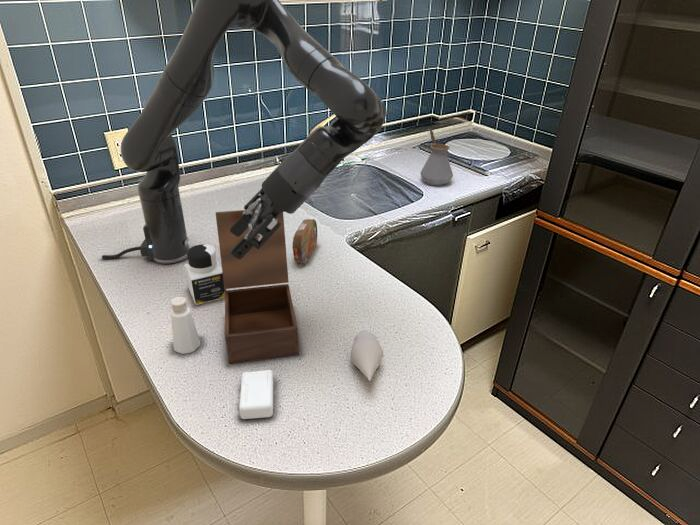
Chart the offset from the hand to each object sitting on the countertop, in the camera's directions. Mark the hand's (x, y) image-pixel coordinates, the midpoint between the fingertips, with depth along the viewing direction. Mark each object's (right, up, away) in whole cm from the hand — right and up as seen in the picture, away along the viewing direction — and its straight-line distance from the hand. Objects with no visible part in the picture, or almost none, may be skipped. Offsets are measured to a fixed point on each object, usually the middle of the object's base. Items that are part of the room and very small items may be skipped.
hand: (234, 244), depth 89 cm
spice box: (+3, -18, +12) cm, 22 cm away
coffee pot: (+51, +28, +92) cm, 109 cm away
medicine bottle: (-12, -11, +25) cm, 29 cm away
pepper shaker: (-12, -20, +9) cm, 25 cm away
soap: (+5, -28, -3) cm, 28 cm away
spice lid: (+1, 0, +12) cm, 12 cm away
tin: (+9, -1, +41) cm, 42 cm away
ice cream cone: (+24, -24, +4) cm, 34 cm away
